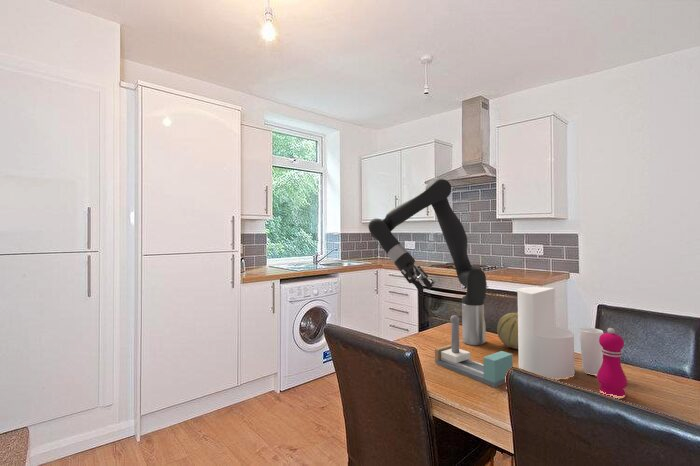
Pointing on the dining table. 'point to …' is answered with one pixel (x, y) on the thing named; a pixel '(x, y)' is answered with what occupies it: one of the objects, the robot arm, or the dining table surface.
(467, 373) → the rail bed
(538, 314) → the white stepped block
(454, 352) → the carriage
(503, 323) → the cantaloupe
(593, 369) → the drinking glass
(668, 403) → the dining table surface
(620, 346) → the pepper mill
